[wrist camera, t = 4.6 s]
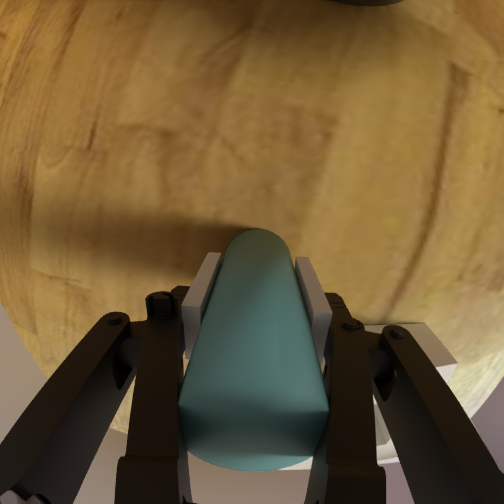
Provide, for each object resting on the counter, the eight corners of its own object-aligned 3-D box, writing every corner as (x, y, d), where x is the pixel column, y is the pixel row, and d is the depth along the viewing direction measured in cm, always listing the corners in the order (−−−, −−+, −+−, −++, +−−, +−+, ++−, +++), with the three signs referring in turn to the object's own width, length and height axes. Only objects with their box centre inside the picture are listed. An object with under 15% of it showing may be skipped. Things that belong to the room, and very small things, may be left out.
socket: (292, 324, 22) (301, 377, 16) (425, 322, 22) (458, 363, 16) (277, 421, 25) (279, 470, 20) (386, 414, 25) (402, 455, 20)
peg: (225, 227, 19) (159, 372, 6) (293, 231, 19) (352, 382, 6) (224, 288, 21) (181, 464, 8) (287, 292, 21) (316, 470, 7)
